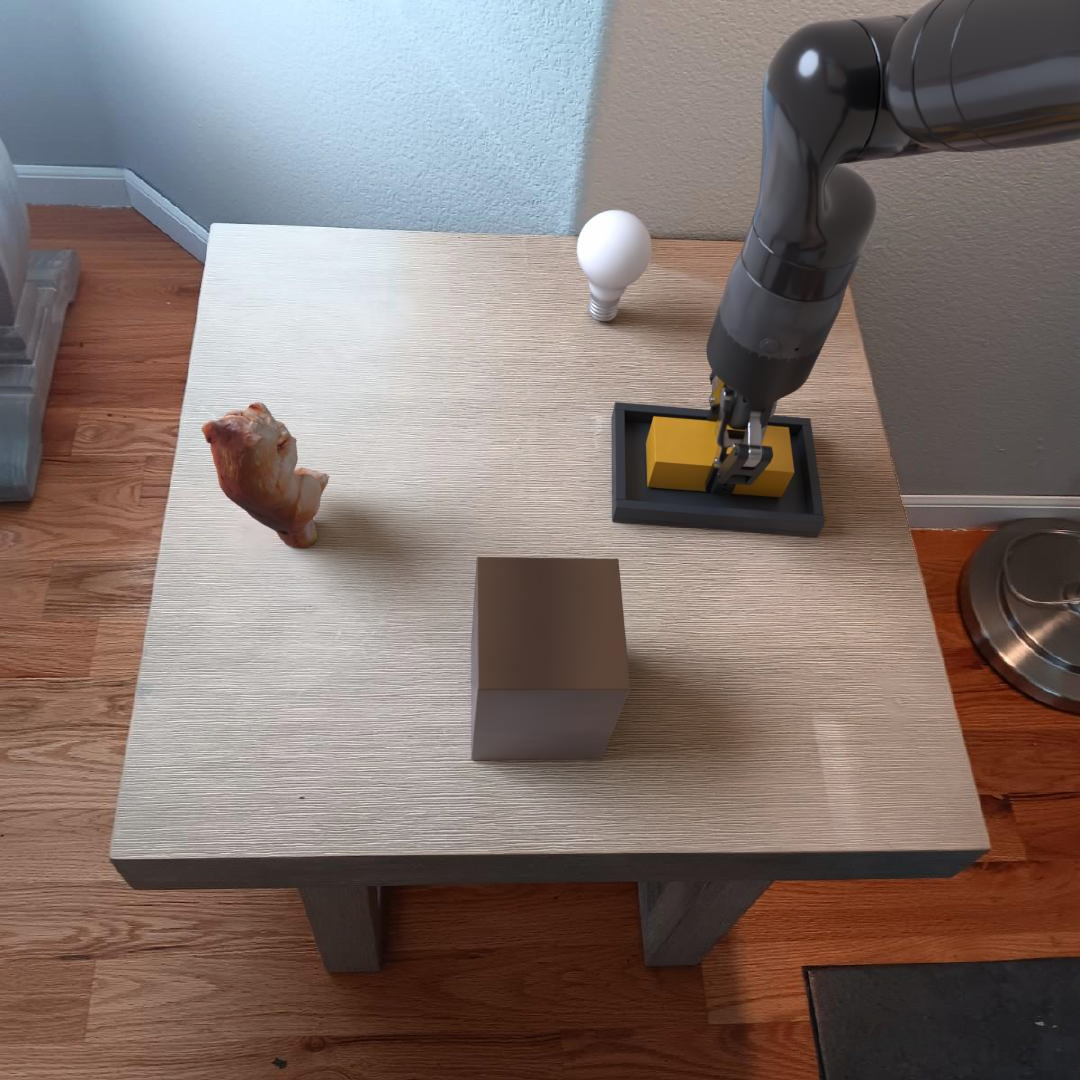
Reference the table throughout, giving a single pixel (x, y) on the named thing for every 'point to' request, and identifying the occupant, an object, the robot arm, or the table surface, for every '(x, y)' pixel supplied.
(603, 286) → the lightbulb
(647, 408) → the tray
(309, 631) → the table surface
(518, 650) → the stand
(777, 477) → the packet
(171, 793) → the table surface
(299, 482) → the figurine
